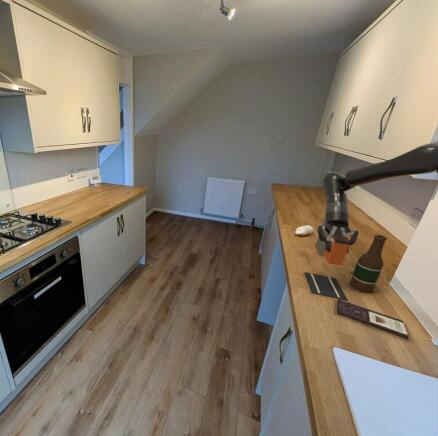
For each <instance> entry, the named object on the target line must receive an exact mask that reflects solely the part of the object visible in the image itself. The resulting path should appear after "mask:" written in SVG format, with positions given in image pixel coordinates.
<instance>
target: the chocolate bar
mask: <svg viewBox="0 0 438 436" xmlns="http://www.w3.org/2000/svg"><path fill="white" fill-rule="evenodd" d="M336 304H337V306H336V309H337V310H336V313H337V315H339V316H342V317H345V318H348V319H350V320H353V321H356V322H358V323H361V324H364V325H367V326H370V327H372V328H374V329H378V330H381V331H383V332H386V333H389V334H391V335H395V336H397V337H400V338H403V339H405V340H408V339H409V335H408V332H407V329H406V326H405V323H404V321H403V320H402V319H399V318H397V317H393V316H391V315H386V314H384V313H380V312H378V311H376V310H375V311H374V310H371V309H369V308H366V307H362V306H360V305H357V304H354V303H351V302H348V301H346V300H341V299H337V303H336Z"/></svg>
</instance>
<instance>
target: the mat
mask: <svg viewBox="0 0 438 436" xmlns="http://www.w3.org/2000/svg"><path fill="white" fill-rule="evenodd" d="M304 275H305V278H306V281H307V283H308V287H309V289H310V292H311V294H315V295H320V296H323V297H328V298H329V297H330V298H331V299H332V298H333V299H337V300H338V299H339V300H342V301H345V302H348V301H349V300H348V298H347V295H346V294H345V292H344V291H343V289H342V287H341V285H340V283H339V281H338V280H337V278H336V277H332V276H327V275H322V274H316V273H312V272H306V271H304Z"/></svg>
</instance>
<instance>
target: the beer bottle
mask: <svg viewBox="0 0 438 436" xmlns="http://www.w3.org/2000/svg"><path fill="white" fill-rule="evenodd" d="M387 239H388V238H387V237H386V236H385V235H381V234H375V235H374V236H373V240H372V243H371V244H370V247H369V248H368V251H367V252H364V253H365V254H364V255H362V254H361V255H362V256H361V255H360V257H359V258H358V260H357V262H356V264H355V267H354V270H353V272H352V274H351V275H352V276H351V278H350V280H349V286H351V288H352V289H353V290H356V291H358V292H360V293H365V294H370V293H372V292H373V291H374V289H375V287H376V285H377V282H378V279H379V277H380V275H381V273H382V270H383V267H384V260H383V258H382V252H383V249H384V246H385V242H386V241H387Z"/></svg>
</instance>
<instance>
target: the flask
mask: <svg viewBox="0 0 438 436" xmlns="http://www.w3.org/2000/svg"><path fill="white" fill-rule="evenodd" d="M325 225H326V216H323V220H322V222H321V225H320V226H322V227H323V226H325ZM324 234H325V238H327V236H328V233H327V231H326V230H325V229H324ZM315 246H316V247H317V249H318V253H319V255H321V256H324V251H325V242H324V241H320V238H319V235H318V236H317V240H316V243H315Z"/></svg>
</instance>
